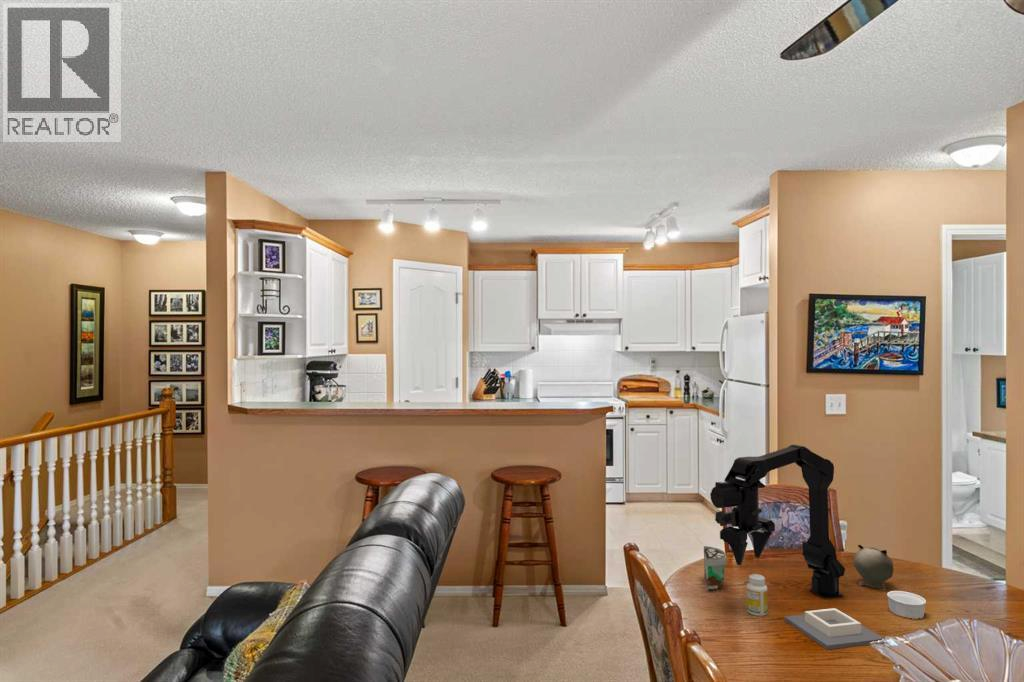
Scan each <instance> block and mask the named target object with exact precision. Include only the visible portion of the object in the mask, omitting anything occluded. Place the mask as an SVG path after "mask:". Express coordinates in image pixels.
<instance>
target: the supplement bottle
mask: <svg viewBox="0 0 1024 682" xmlns="http://www.w3.org/2000/svg"><path fill="white" fill-rule="evenodd" d="M765 583H766V577H765V576H764V575H761V574H757V573H752V574H749V576H748V583H747V584H746V588H745V589H746V612H747V613H749V615H752V616H756V617H763V616H766V615H767V614H768V610H769V609H768V607H769V606H768V604H769V603H768V601H769V600H768V598H769V597H768V593H769V592H768V586H767V585H766V584H765Z"/></svg>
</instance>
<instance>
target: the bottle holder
mask: <svg viewBox="0 0 1024 682" xmlns="http://www.w3.org/2000/svg"><path fill="white" fill-rule="evenodd" d="M783 617H784V619H783V621H785V622H786V623H788V624H789V625H790V624H791V625H790V626H792V627H793V628H795V629H796V630H798V631H799V632H800V633H802V634H804V635H805V636H806V637H808V638H810V639H811V640H812V641H814V642H815V643H817V644H818V645H820V646H821V647H822V648H824V649H826V650H836V649H845V648H851V647H852V646H853V647H861V645H862V646H868V645H867V644H869V643H870V642H872V641H878V640H882V639H885V637H883V636H882V635H879V634H878V633H876V632H875V631H873V630H871V629H869V628H868V627H866V626H865V625H862V623H861V622H860V621H858V620H857V619H855V618H853V617H851V616H849V615H848V614H846V613H844V612H842V611H841V610H839V609H837V608H836V607H833V608H825V609H814V610H805V611H804V613H803V614H796V615H795V614H794V615H787V616H786V615H785V616H783ZM885 640H886V639H885Z"/></svg>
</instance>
